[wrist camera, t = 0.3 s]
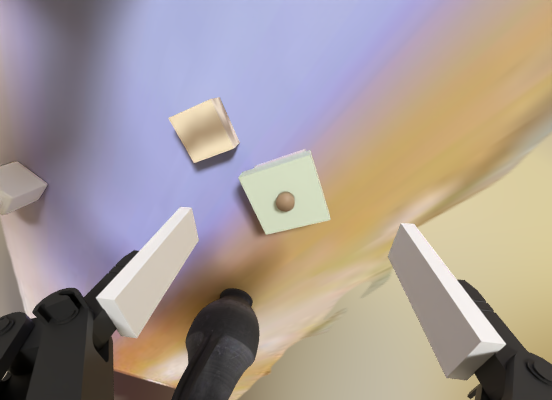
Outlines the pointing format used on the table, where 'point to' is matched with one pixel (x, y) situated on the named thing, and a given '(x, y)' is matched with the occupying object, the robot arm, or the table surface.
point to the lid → (286, 193)
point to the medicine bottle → (18, 187)
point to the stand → (205, 130)
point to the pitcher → (219, 348)
